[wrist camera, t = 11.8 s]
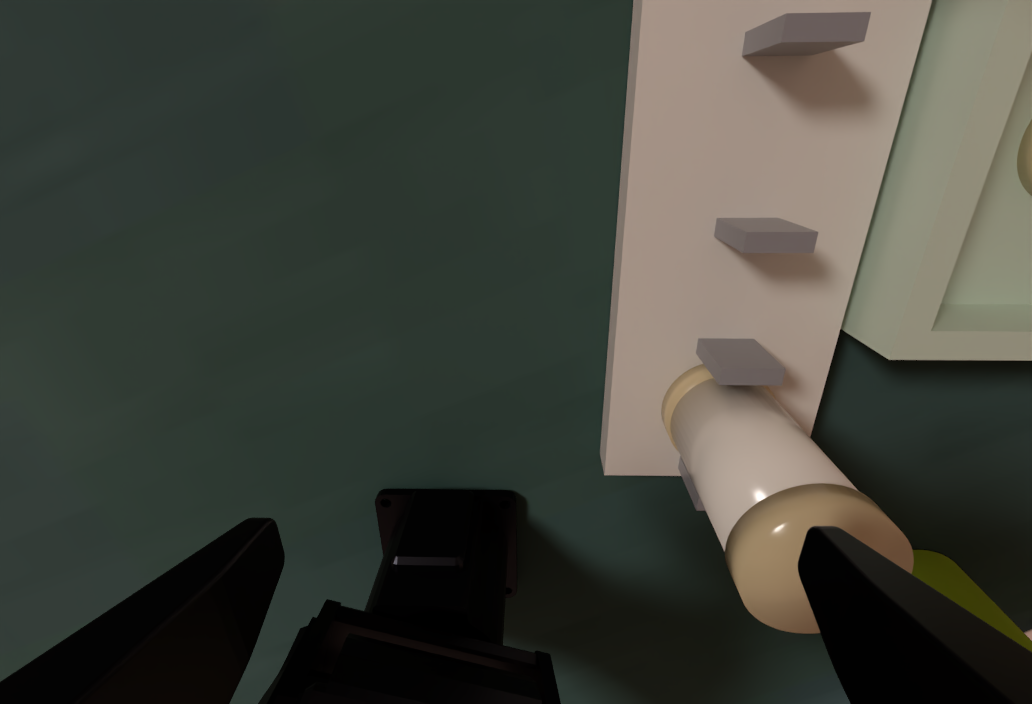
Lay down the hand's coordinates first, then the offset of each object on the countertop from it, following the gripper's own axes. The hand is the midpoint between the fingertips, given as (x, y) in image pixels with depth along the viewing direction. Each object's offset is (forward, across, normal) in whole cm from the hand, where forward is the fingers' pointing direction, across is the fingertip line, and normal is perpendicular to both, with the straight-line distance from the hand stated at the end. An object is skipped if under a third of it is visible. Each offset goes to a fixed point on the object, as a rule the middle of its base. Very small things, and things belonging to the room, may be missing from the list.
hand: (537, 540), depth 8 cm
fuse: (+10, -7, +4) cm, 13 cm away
